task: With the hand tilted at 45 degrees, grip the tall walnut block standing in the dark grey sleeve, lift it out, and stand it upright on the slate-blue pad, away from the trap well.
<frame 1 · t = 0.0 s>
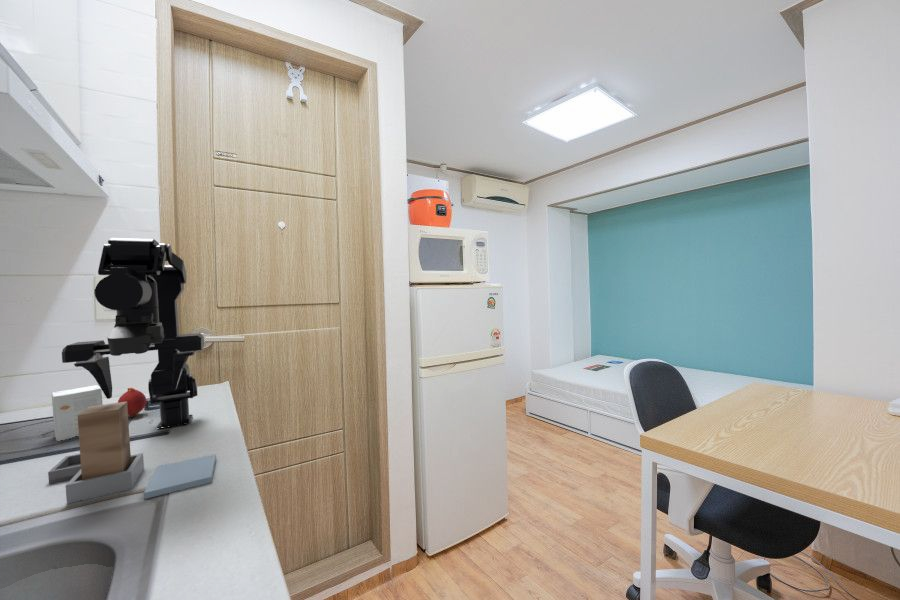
hand: (143, 393, 65), 15 cm above the counter, tool pointing down, fingers open, 9 cm apart
sleeve: (108, 484, 62), on the counter
small box: (80, 434, 85), on the counter
trap well: (84, 469, 67), on the counter
onion: (133, 417, 96), on the counter
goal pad: (183, 476, 64), on the counter
walnut block: (106, 446, 61), in the sleeve
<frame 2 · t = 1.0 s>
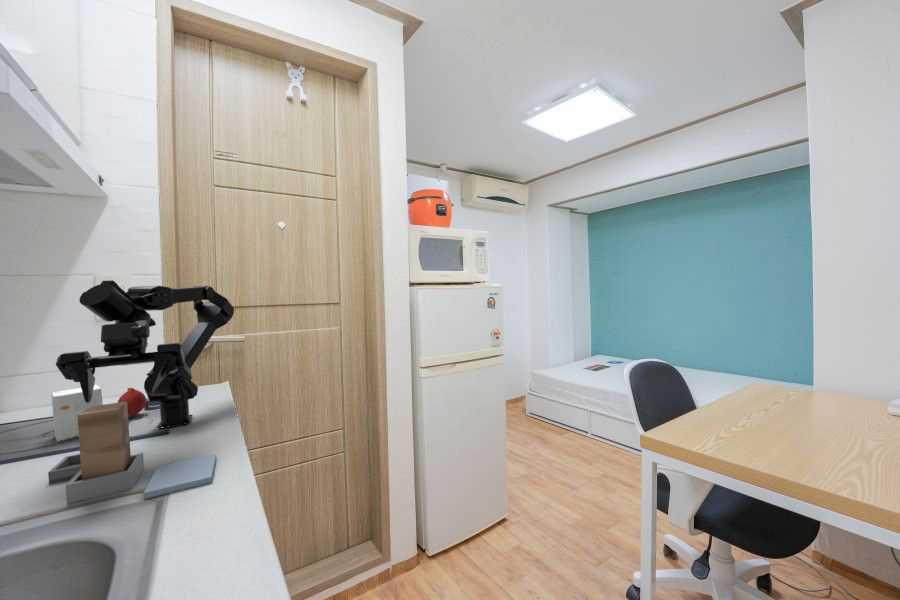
hand: (120, 396, 68), 13 cm above the counter, tool tilted 45°, fingers open, 9 cm apart
nothing on the counter moved.
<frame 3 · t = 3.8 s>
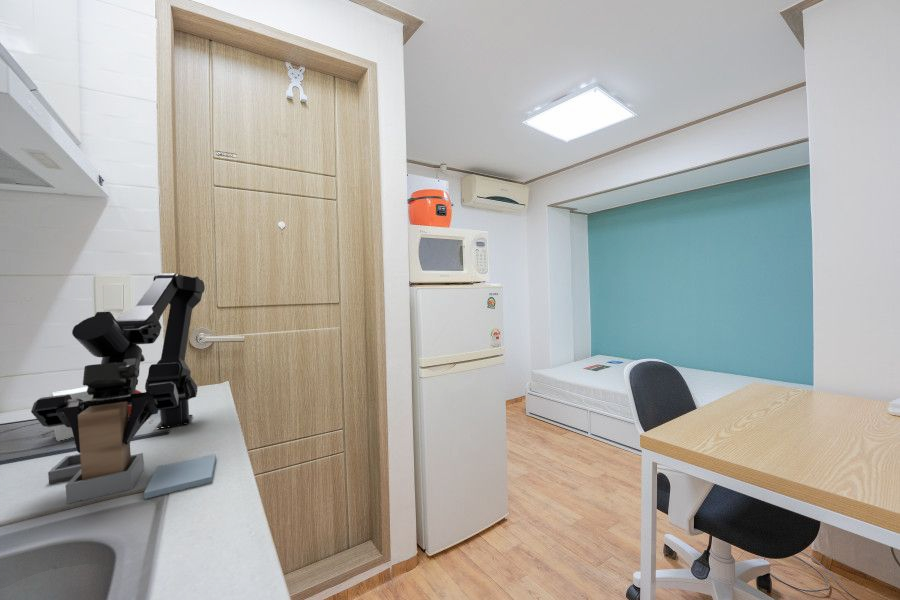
hand: (103, 447, 60), 7 cm above the counter, tool tilted 45°, fingers closed on walnut block, 5 cm apart
walnut block: (106, 446, 61), in the sleeve, touching gripper
everything else where it was.
when the fingers open (9 cm above the counter, at t = 8.3 s): walnut block stays where it is, resting on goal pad.
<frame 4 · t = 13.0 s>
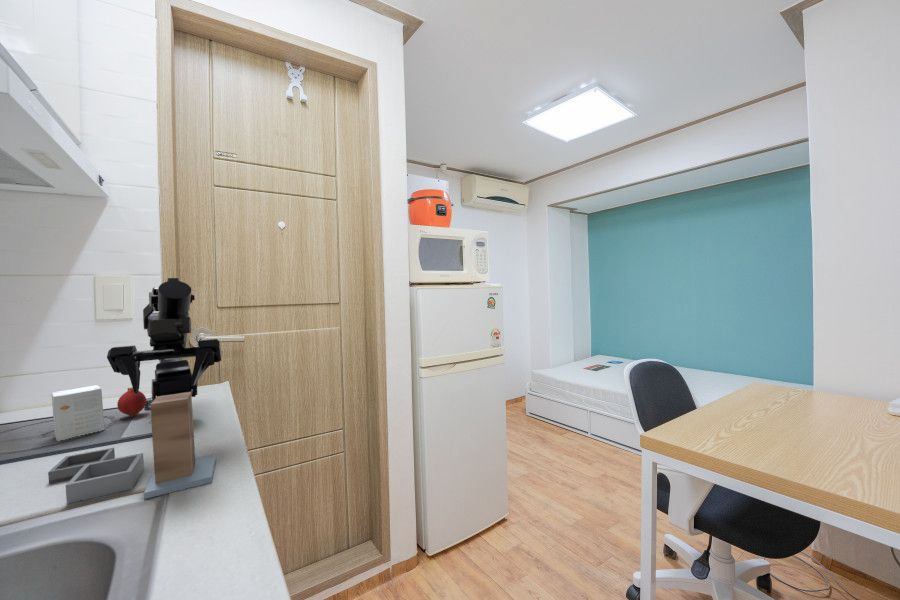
hand: (165, 388, 72), 14 cm above the counter, tool tilted 45°, fingers open, 9 cm apart
walnut block: (174, 435, 63), on the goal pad, point 8 cm above the counter
everything else where it was.
at the end: walnut block inside the target area on the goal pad (1.0 cm from its centre), point 7.7 cm above the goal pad's base; walnut block tilted 0°; the gripper is holding nothing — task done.
